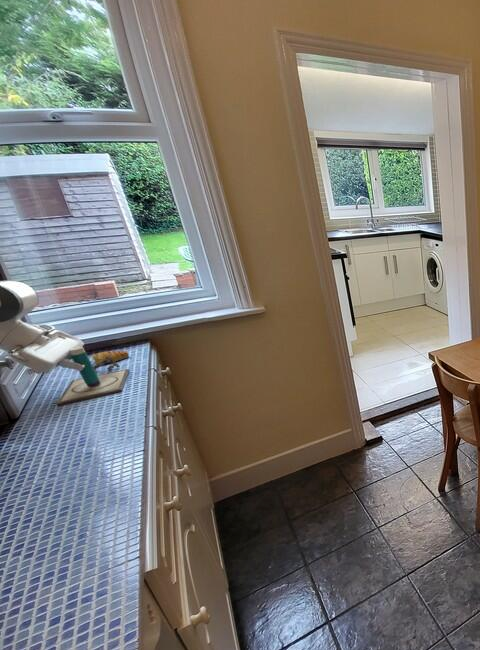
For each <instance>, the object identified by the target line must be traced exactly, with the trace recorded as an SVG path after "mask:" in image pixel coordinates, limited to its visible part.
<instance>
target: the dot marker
mask: <svg viewBox="0 0 480 650" xmlns="http://www.w3.org/2000/svg"><path fill="white" fill-rule="evenodd" d="M68 351H69V353H70V355H71V357H72V358H71V359H72V360H73V361H72V362H75V363H82V364H85V365H86V366H85V368H84V369H83V370H82V371H78V372H79V374H80V376H81V378H83V380H84V382H85V383H86V384H87V386H88V387H93V386H96V385H99V384H100V381H99V378H98V376H97V375H98V374H97V372H96V370H94V368H93V366H94V365H93V364H92V362H90V360H89V358H90V357H89V355H88V353H87V352H86V350H85V348H84V346H83V347H74V348H71V349H69V350H68Z"/></svg>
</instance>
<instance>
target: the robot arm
mask: <svg viewBox="0 0 480 650" xmlns="http://www.w3.org/2000/svg"><path fill="white" fill-rule="evenodd" d="M38 304H39V295H38V293H37V292H36V290H35V289H34V288H33V287H31V286H30V285H28V284H27V283H24V282H21V281H17V280H0V350H2V351H5V352H7V353H8V355H9V357H10V358H12V359H15V361H16V363H18V364H21V366H22V365H23V366H24V367H26V368H29V369H31V370H33V371H36V372H38V373H41V374H49V373H50V372H52V371H53V370H55V369H57V368H58V367H61V368H63V369H70V370H71V369H73V370H76V371H78V372H79V371H82V370H83V369H84V368H85V366H86V365H85V364H82V363H75V362H74V361H71V360H70V359H72V357H71V355H70V353H69V351H68V350H69V349H71V348H74V347H83V348H84V346H85V343H84V342H83V340H81V339H80V338H77V337H75V336H73V335H71V334H69V333H67V332H65V331H62V330H58V329H55V328H56V327H55V326H53V325H52V324H48V323H45V324H30V323H27V322H25V321H23V320H22V318H24V317H25V316H27V315H28V314H29V313H31V312H32V311H34V309H35V308H36V307H37V306H38ZM88 358H89V360H90V362H91V363H92V362H93V359H92V358H90V357H88Z"/></svg>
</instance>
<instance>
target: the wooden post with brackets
mask: <svg viewBox="0 0 480 650" xmlns="http://www.w3.org/2000/svg"><path fill="white" fill-rule="evenodd" d="M112 359H113V357H112V356H111V357H106V359H105V360H104V361H102V362H101V363H99V364H98V365H96V364H95V365H92V366H93V368H94V370H95V371H97V369H98V368H99V367H102V366H103V365H105V364H112V365H109V366H108V367H107V368H106V369H107V370H109V371H111V370H112V369H114V368H115V367H116V368H120V364H118V363H117V362H116V361H115V362H114V361H113V360H112ZM108 361H110V362H108ZM106 362H108V363H106Z"/></svg>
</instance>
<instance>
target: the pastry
mask: <svg viewBox="0 0 480 650" xmlns="http://www.w3.org/2000/svg"><path fill="white" fill-rule="evenodd" d="M111 356H112V357H113V359H112V360H113V361H114V362H115V363H116V361H117V362H119V361H118V360H120V361H122V359H123V360H125V359H127V358H129V356H130V355H129V353H128V351H125V350H106V351H101V352H98V353H93V354H92V358H93V359H92V360H93V361H94V365H95V366H96V365H98V364H99V363H101V362H102V361H104V360H105V359H106V357H111ZM124 358H125V359H124ZM108 362H110V361H108ZM108 362H106V363H105V364H109V363H108Z"/></svg>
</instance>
